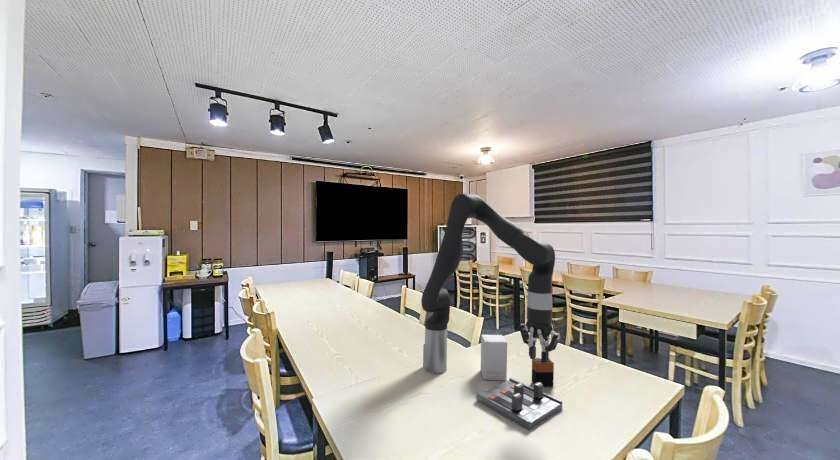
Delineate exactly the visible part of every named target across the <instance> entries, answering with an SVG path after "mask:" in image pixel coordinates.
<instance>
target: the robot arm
mask: <svg viewBox="0 0 840 460" xmlns="http://www.w3.org/2000/svg"><path fill="white" fill-rule="evenodd" d="M468 219H474V220H478V221H480V222H481V223H484V224H485V225H486V226H487V227H488V228H489V229H490V230H491V232H492V233H493V234H494V235H495V236H496V237H497V239H499V240H500V241H501V242H503V244H504V243H505V245H507V246H508V247H510V248H511V249H513V250H515V252H516V253H517V254H518V255H519V256H520V257H521V258H522V259H524V260H525V261H526V262H527V263H528V264H530V265H532V271H531V272H530V273H529V274H528V279H527V296H526V320H527V321H526V323H521V324H519V325H518V328H519V331H520V334H521V338H522V341H523V344H526V345H527V346H528V356H529V358H530V359H531V360H532V359H536V358H537V347H536V345H537V340H539V344H540V347H541V351H540V353H541V356H540V359H541V363H543V364H544V363H546V362H547V361H548V360H549V358H550V357H549V356H550V355H549V354H550V353H551V352H552V351H555V350H556V348H557V345H558V344H559V342H560V339H561V337H562V334H561V333H559V332H556V331H555V330H554V327H553V326H552V323H553V306H554V305H553V295H552V289H553V288H552V287H553V286H552V285H553V282H552V281H553V280H552V277H553V274H554V270H555V269H554V267H555V262H556V251H555V249H554V248H553V246H552V245H551V244H549V243H547V242H538V241H537V240H535V239H533V238H532V237H531V236H530V235H529V233H528V232H527V231H526V230H524V229H523V228H521V227H520V226H519V225H516V224H515V223H513V222H512V221H511V220H508V219H507V218H505V217H504V216H502V215H501V214H500V213H498V211H496V210H495V209H494V208H493V207H491V206H490V205H489V204H488V203H487V202H486V201H485V200H484V199H483V198H481V197H480V196H479V195H477V194H475V193H465V192H464V193H458V194H456V195H455V196H454V198H453V200H452V201H451V204H450V208H449V212H448V217H447V223H446V227H445V230H444V232H443V236H442V240H441V244H440V246H439V249H438V252H437V254H436V258H435V262H434V265H433V268H432V271H431V273H430V276H429V277H428V278H429V279H428V281H427V283H426V285H425V287H424V289H423V292H422V294H421V299H420V300H421V307H422V310H423V311H425V312H426V313H432V314H431V315H430V316H429V317H428V318H427V319H426V320H425V323H424V343H423V345H422V346H423V349H422V350H423V351H422V352H423V353H422V355H423V356H422V367H423V368H424V370H425V371H426V372H428V373H430V374H443V373H445V372H446V371H447V368H448V367H447V365H448V364H447V363H448V362H447V361H448V357H447V356H448V324H449V322H450V314H451V312H450V311H451V297H450V294H449V291H448V290H447V289H445V288H443V286H444V284H445V283H446V282H447V281H448V279H450V278H451V276H452V275H453V274H454V273H455V272H456V270H457V269H458V267H459V265H460V263H461V259H462V258H463V254H464V253H463V252H464V243H463V232H464V228H465V225H466V223H467V220H468ZM550 335H551V336H550ZM549 352H550V353H549Z"/></svg>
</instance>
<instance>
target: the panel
mask: <svg viewBox="0 0 840 460" xmlns="http://www.w3.org/2000/svg"><path fill="white" fill-rule="evenodd" d="M518 383H519V384H520V383H521V384H522V385H524V397H523V398H522V409H520V410H518V411H516V410H514V409H513V408H512V395H514V385H516V384H518ZM476 402H477V403H479V404H481V405H482V406H485V408H488V409H489V410H491V411H493V412H495V413H497V414H498V415H500V416H502V417H504V418H506V419H507V420H509V421H510V422H512V423H514V424H516V425H517V426H520V427H521V428H523V429H524V430H526V431H528V432H529V431H531V430H532V429H534V428H536V427H537V426H539V425H541V424H542V423H543V422H545V421H546V420H548V419H550V418H551V417H552V416H554V415H556V414H557V413H559V412H560V411H562V410H563V400H561V399H558V398H556V397H554V396H552V395H550V394H548V393H545V392H543V397H541V398H539V399H538V398H536V397H534V387H532V386H530V385H527V384H525V383H523V382H522V381H518V380H516V379H514V378H512V377H510V378H509V379H508V380H505V381H504V382H502V383H500V384H498V385H496V386H493V387H491V388H489V389H487V390H485V391H482V392H481V393H480V392H476Z"/></svg>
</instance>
